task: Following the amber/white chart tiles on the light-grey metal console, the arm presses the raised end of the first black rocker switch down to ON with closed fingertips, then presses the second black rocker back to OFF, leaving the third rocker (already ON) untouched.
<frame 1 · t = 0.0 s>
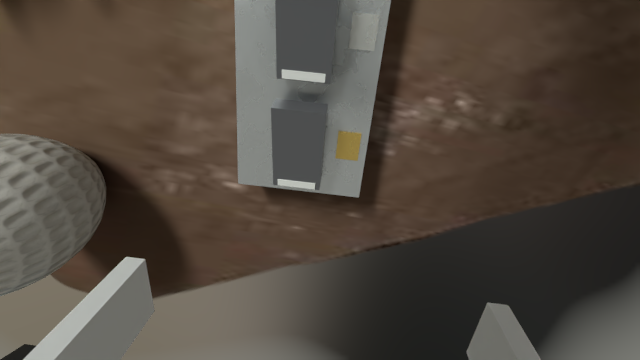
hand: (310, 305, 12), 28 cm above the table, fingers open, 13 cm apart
vase: (80, 173, 44), on the table
switch 2: (306, 26, 27), point 7 cm above the table, hinge at 14.0°
switch 3: (298, 147, 32), point 7 cm above the table, hinge at 14.0°
console: (314, 27, 34), on the table
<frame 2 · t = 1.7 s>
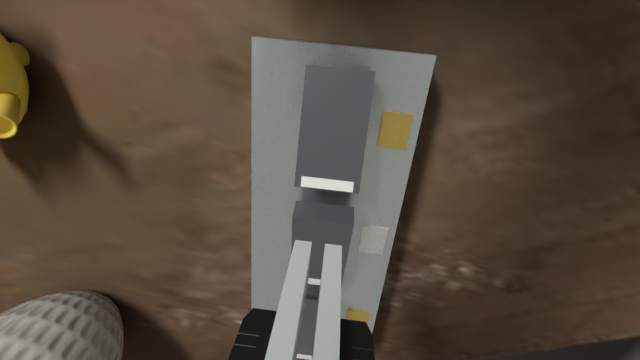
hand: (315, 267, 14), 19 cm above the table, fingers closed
switch 1: (333, 130, 24), point 7 cm above the table, hinge at -14.0°
teapot: (1, 63, 32), on the table
vase: (97, 307, 45), on the table
switch 2: (320, 247, 29), point 7 cm above the table, hinge at 14.0°
switch 3: (310, 331, 33), point 7 cm above the table, hinge at 14.0°
console: (325, 208, 35), on the table
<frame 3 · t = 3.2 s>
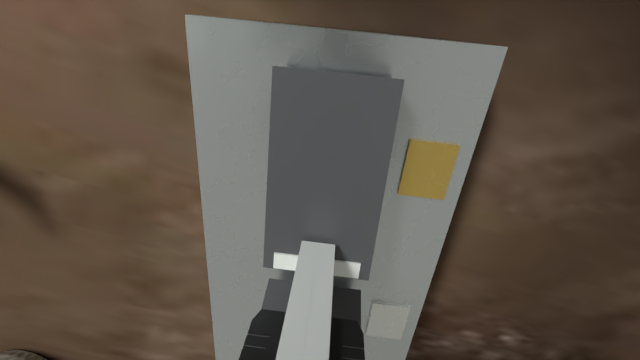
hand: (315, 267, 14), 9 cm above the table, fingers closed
switch 1: (326, 177, 14), point 7 cm above the table, hinge at -7.1°, touching gripper
switch 2: (308, 339, 19), point 7 cm above the table, hinge at 14.0°
console: (318, 260, 26), on the table
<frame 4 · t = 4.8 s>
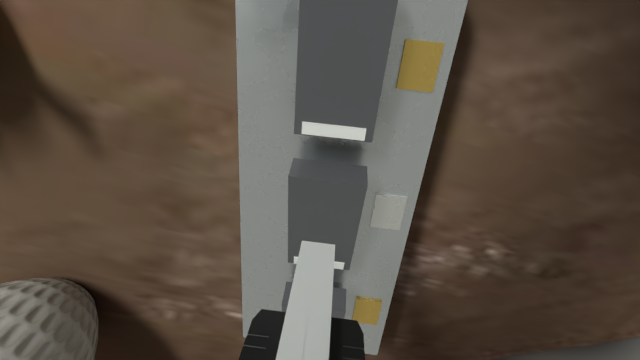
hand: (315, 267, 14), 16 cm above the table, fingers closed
switch 1: (341, 61, 18), point 7 cm above the table, hinge at 5.4°
vase: (70, 297, 40), on the table
switch 2: (323, 219, 23), point 7 cm above the table, hinge at 14.0°
switch 3: (311, 323, 28), point 7 cm above the table, hinge at 14.0°
console: (329, 178, 30), on the table
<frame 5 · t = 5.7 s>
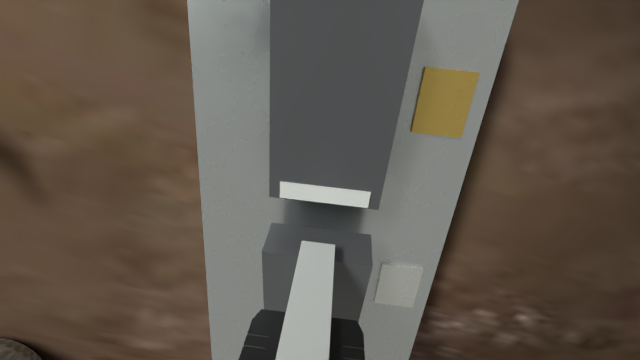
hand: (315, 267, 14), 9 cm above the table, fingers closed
switch 1: (335, 99, 13), point 7 cm above the table, hinge at 5.9°
vase: (17, 358, 34), on the table
switch 2: (312, 301, 17), point 7 cm above the table, hinge at 9.9°, touching gripper
console: (322, 229, 24), on the table
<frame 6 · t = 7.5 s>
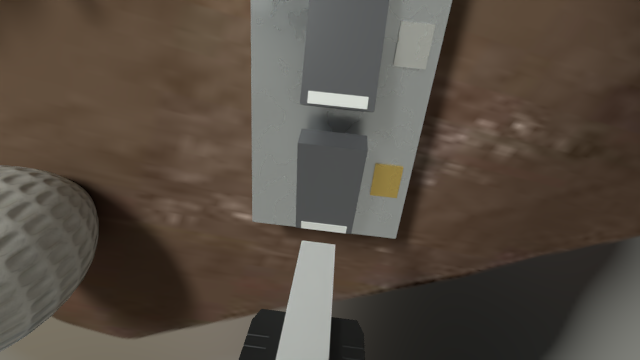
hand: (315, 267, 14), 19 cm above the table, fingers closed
vase: (69, 201, 38), on the table
switch 2: (344, 39, 21), point 7 cm above the table, hinge at -15.0°
switch 3: (328, 185, 26), point 7 cm above the table, hinge at 14.0°
console: (345, 37, 28), on the table
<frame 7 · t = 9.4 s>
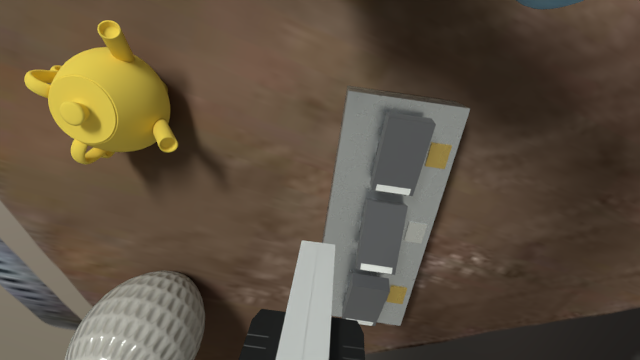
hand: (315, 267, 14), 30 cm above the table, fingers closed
switch 1: (400, 155, 36), point 7 cm above the table, hinge at 6.0°
teapot: (144, 94, 43), on the table
vase: (177, 286, 56), on the table
switch 2: (380, 236, 40), point 7 cm above the table, hinge at -15.8°
switch 3: (364, 300, 45), point 7 cm above the table, hinge at 14.0°
console: (374, 209, 47), on the table
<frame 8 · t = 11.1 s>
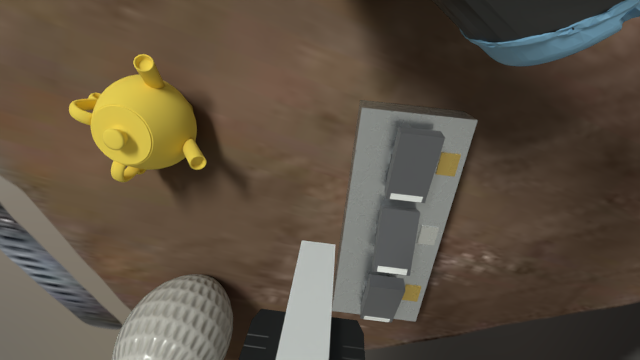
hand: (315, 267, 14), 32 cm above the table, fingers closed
switch 1: (412, 166, 39), point 7 cm above the table, hinge at 6.0°
teapot: (171, 114, 46), on the table
vase: (205, 287, 60), on the table
switch 2: (395, 240, 43), point 7 cm above the table, hinge at -15.9°
switch 3: (381, 299, 48), point 7 cm above the table, hinge at 14.0°
console: (388, 213, 50), on the table
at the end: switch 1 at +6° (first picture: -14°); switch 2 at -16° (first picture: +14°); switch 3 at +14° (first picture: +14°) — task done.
